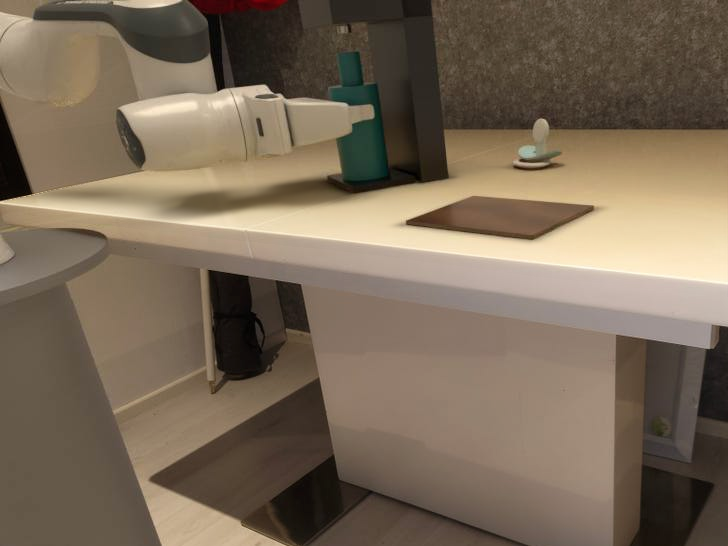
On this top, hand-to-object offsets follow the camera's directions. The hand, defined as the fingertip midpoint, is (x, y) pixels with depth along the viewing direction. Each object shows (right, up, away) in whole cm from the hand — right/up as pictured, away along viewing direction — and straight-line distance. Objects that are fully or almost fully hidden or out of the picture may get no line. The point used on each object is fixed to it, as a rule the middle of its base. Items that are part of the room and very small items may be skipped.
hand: (362, 109), depth 92 cm
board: (+18, -19, -20) cm, 33 cm away
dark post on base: (+2, -8, +5) cm, 10 cm away
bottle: (0, -8, +4) cm, 9 cm away
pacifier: (+24, -6, +5) cm, 25 cm away
